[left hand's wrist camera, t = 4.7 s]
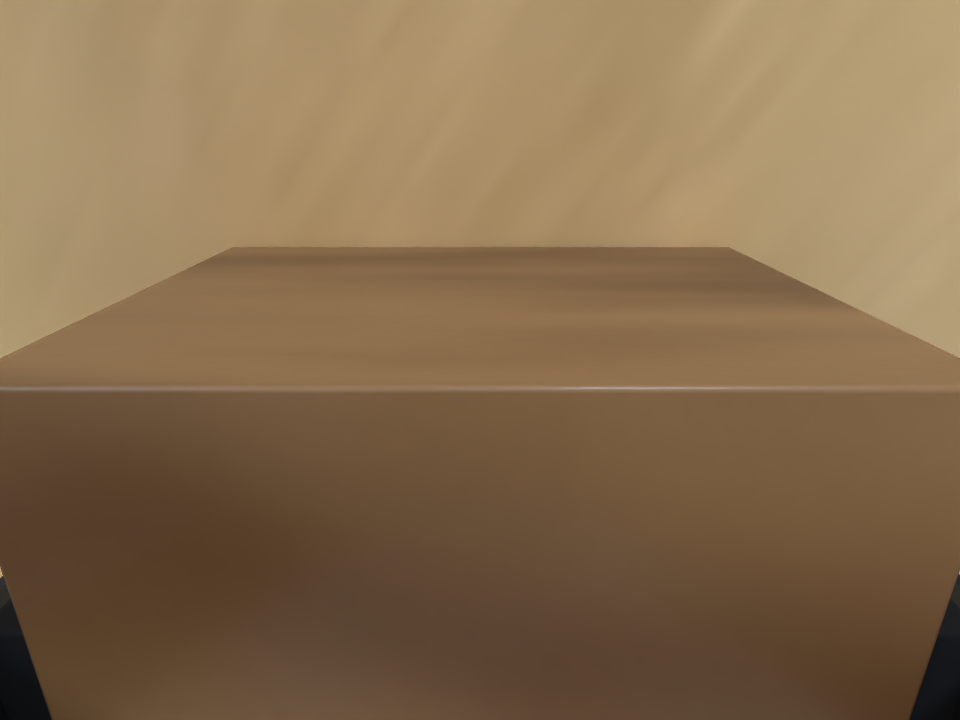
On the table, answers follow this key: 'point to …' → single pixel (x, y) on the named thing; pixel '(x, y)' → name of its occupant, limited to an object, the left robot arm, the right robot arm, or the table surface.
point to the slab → (480, 492)
